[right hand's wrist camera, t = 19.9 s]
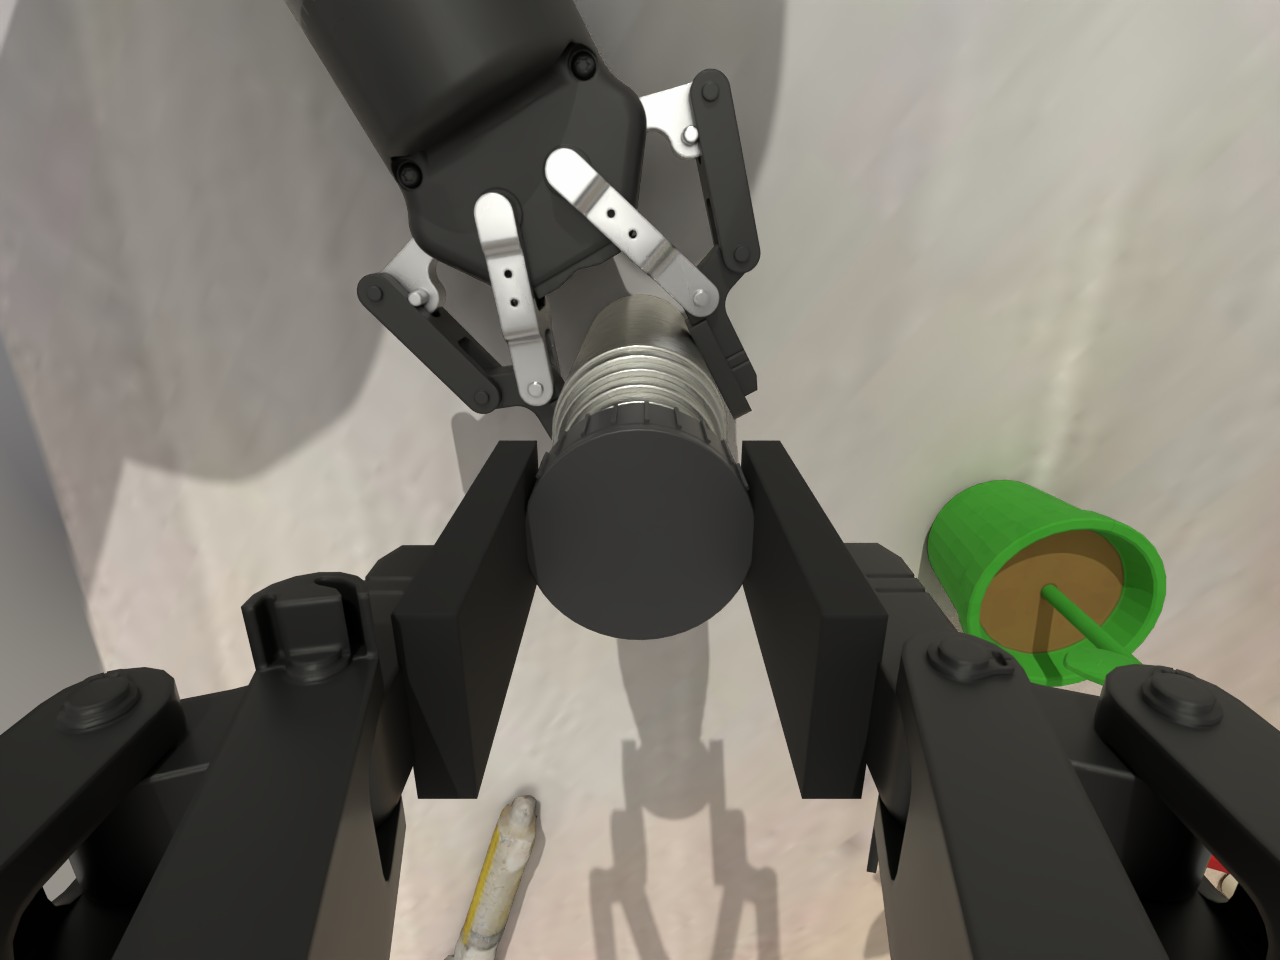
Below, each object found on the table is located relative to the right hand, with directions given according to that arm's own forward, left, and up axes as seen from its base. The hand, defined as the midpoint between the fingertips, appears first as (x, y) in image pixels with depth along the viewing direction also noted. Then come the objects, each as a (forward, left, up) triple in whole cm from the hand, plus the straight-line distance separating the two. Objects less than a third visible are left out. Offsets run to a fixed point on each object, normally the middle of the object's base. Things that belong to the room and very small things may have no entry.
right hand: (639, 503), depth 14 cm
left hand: (-3, 0, -11) cm, 12 cm away
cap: (0, 0, +2) cm, 2 cm away
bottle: (0, 0, -18) cm, 18 cm away
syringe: (-30, +24, -18) cm, 42 cm away
